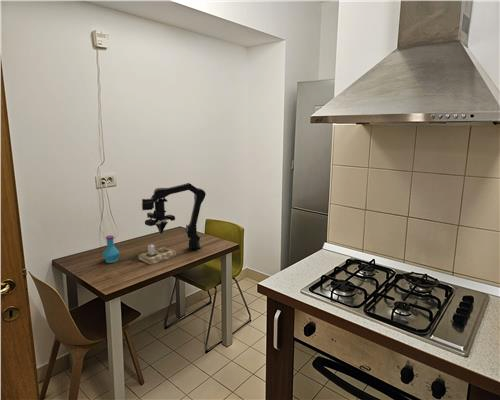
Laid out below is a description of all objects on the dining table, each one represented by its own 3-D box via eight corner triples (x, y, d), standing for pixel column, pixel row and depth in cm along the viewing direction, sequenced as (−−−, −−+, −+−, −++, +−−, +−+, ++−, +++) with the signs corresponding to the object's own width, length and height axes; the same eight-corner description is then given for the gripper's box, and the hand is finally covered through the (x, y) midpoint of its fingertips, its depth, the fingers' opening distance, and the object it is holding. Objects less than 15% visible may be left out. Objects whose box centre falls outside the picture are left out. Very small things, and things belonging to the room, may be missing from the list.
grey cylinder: (153, 257, 208) (152, 243, 206) (157, 259, 205) (156, 245, 203) (147, 259, 205) (146, 245, 203) (151, 261, 202) (150, 246, 200)
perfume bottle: (104, 264, 197) (101, 239, 194) (102, 259, 205) (100, 235, 202) (121, 261, 202) (119, 237, 198) (119, 256, 210) (117, 232, 206)
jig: (163, 251, 219) (163, 246, 218) (175, 255, 211) (175, 251, 210) (138, 259, 205) (138, 254, 204) (150, 264, 198) (150, 259, 197)
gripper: (164, 204, 223) (165, 227, 226) (138, 209, 208) (140, 234, 212) (175, 207, 216) (176, 231, 219) (149, 212, 202) (151, 238, 205)
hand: (161, 233), depth 214 cm, fingers closed
